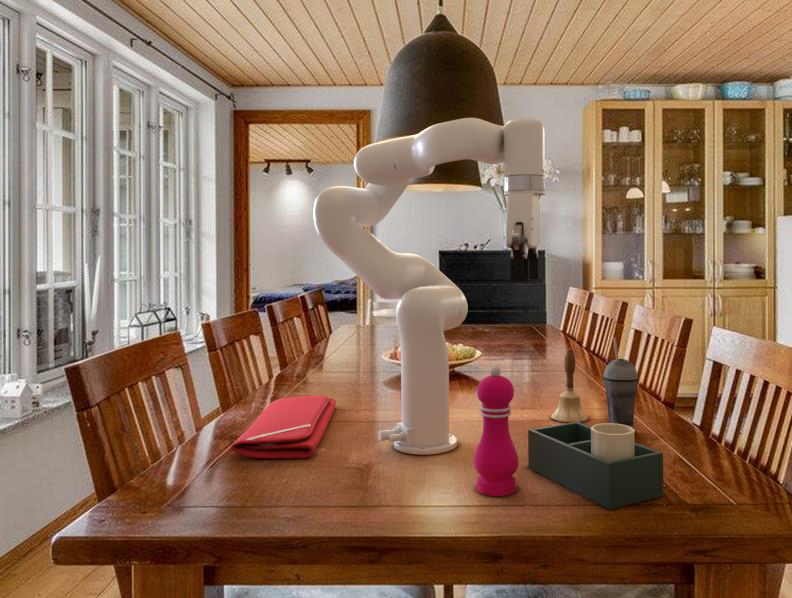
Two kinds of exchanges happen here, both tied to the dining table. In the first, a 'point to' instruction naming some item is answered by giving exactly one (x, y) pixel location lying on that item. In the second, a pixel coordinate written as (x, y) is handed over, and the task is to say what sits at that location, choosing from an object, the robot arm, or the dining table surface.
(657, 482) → the storage box
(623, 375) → the beverage cup
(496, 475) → the pepper mill
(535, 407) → the dining table surface
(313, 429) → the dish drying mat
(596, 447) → the cup
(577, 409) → the hand bell
